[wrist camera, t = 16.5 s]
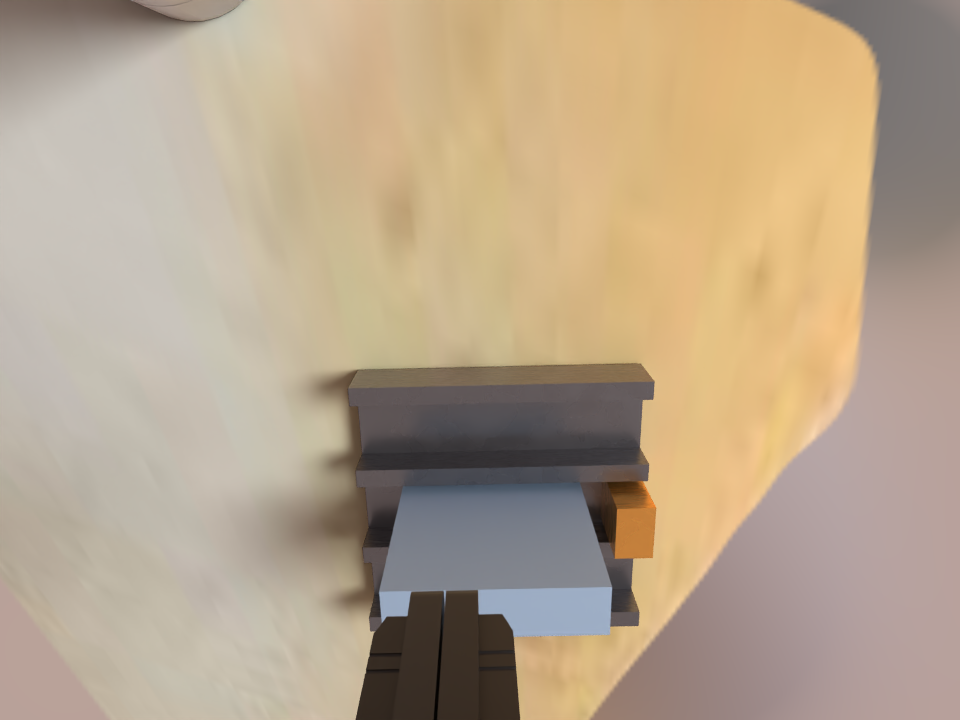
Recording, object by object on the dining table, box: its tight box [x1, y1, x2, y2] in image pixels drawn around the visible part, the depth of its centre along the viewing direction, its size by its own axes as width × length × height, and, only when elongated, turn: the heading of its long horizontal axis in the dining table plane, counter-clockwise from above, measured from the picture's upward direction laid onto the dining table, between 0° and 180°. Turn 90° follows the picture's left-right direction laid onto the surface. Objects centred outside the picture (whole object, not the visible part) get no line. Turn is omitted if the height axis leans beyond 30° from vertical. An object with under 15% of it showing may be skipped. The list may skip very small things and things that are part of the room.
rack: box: [348, 364, 656, 631], centre depth 43 cm, size 19×18×6 cm
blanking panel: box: [379, 482, 612, 637], centre depth 39 cm, size 12×3×12 cm, turn 91°
